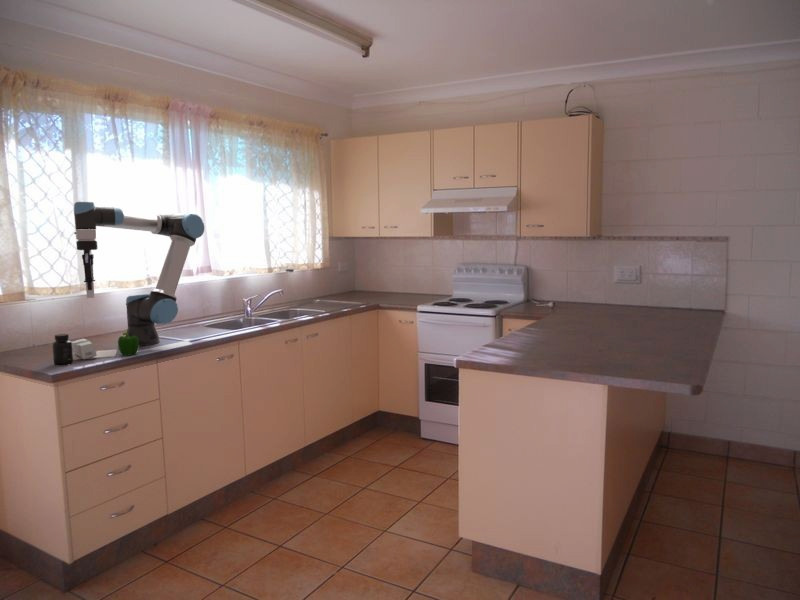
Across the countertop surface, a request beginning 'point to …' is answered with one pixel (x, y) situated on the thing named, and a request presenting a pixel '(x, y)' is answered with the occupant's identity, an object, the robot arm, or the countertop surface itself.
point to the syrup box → (83, 349)
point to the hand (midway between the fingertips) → (90, 297)
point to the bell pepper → (128, 344)
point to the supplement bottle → (62, 350)
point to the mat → (101, 354)
